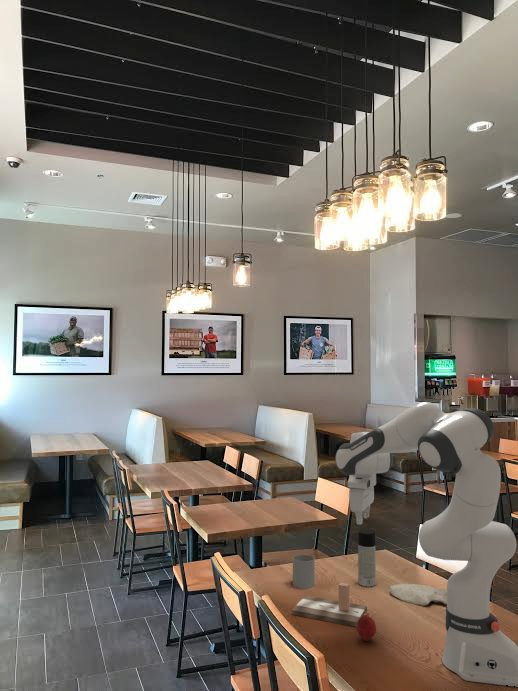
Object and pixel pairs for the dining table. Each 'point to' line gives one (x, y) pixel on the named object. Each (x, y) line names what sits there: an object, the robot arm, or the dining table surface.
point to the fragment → (418, 594)
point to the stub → (344, 596)
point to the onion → (366, 627)
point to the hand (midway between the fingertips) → (362, 520)
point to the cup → (303, 571)
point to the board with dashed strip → (329, 611)
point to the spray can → (366, 558)
